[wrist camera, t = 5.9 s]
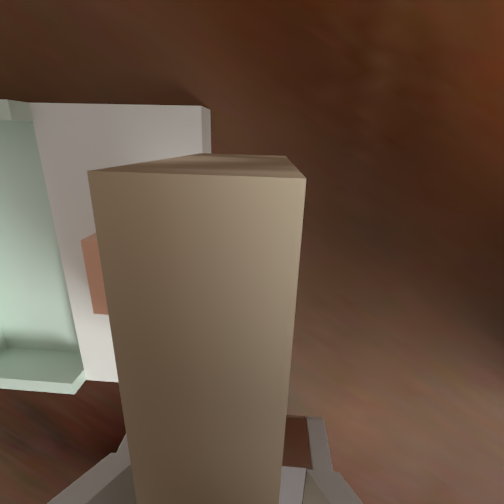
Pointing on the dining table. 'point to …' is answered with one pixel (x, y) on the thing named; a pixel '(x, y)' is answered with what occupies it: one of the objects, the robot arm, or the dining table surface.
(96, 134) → the plate
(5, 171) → the box
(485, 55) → the dining table surface
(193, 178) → the bar
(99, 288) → the terracotta tile
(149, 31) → the dining table surface
